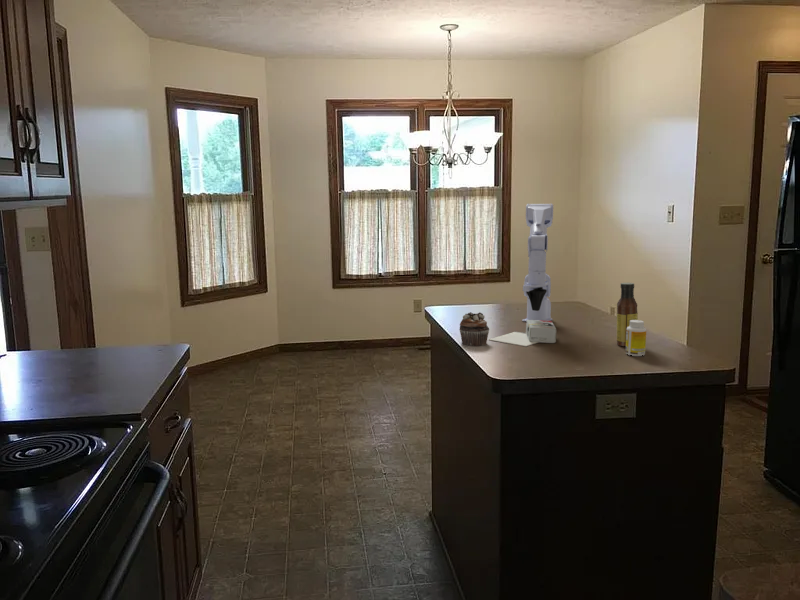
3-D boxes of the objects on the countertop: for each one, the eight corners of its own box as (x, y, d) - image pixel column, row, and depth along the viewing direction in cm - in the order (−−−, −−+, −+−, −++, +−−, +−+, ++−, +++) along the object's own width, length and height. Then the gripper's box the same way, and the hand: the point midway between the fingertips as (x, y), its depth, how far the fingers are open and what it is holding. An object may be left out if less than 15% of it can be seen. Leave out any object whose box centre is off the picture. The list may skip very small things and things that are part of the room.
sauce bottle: (637, 344, 206) (641, 282, 203) (636, 348, 201) (639, 284, 198) (616, 342, 209) (619, 281, 206) (613, 346, 204) (617, 283, 200)
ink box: (552, 320, 219) (557, 328, 207) (551, 334, 220) (556, 343, 208) (526, 319, 220) (530, 327, 208) (525, 333, 221) (529, 341, 209)
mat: (515, 332, 225) (515, 331, 225) (551, 338, 216) (551, 337, 216) (488, 340, 213) (488, 339, 213) (525, 346, 204) (525, 345, 204)
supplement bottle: (649, 355, 192) (651, 321, 190) (635, 357, 189) (637, 323, 188) (634, 351, 197) (636, 318, 195) (621, 353, 194) (622, 320, 193)
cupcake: (455, 345, 206) (456, 314, 204) (463, 339, 215) (463, 309, 213) (485, 347, 203) (485, 316, 201) (492, 341, 212) (492, 311, 210)
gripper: (537, 267, 226) (536, 306, 228) (515, 271, 215) (514, 311, 217) (555, 269, 221) (554, 308, 223) (533, 273, 211) (532, 314, 213)
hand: (535, 310), depth 220 cm, fingers closed
